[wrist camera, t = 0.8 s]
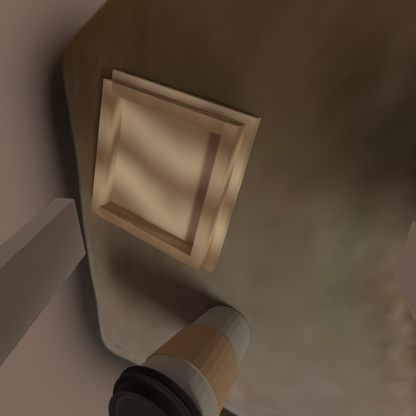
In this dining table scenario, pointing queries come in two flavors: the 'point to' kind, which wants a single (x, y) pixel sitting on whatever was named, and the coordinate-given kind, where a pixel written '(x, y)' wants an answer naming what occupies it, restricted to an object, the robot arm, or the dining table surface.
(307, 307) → the dining table surface
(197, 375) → the coffee cup
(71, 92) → the dining table surface
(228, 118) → the wooden tray
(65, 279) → the robot arm
